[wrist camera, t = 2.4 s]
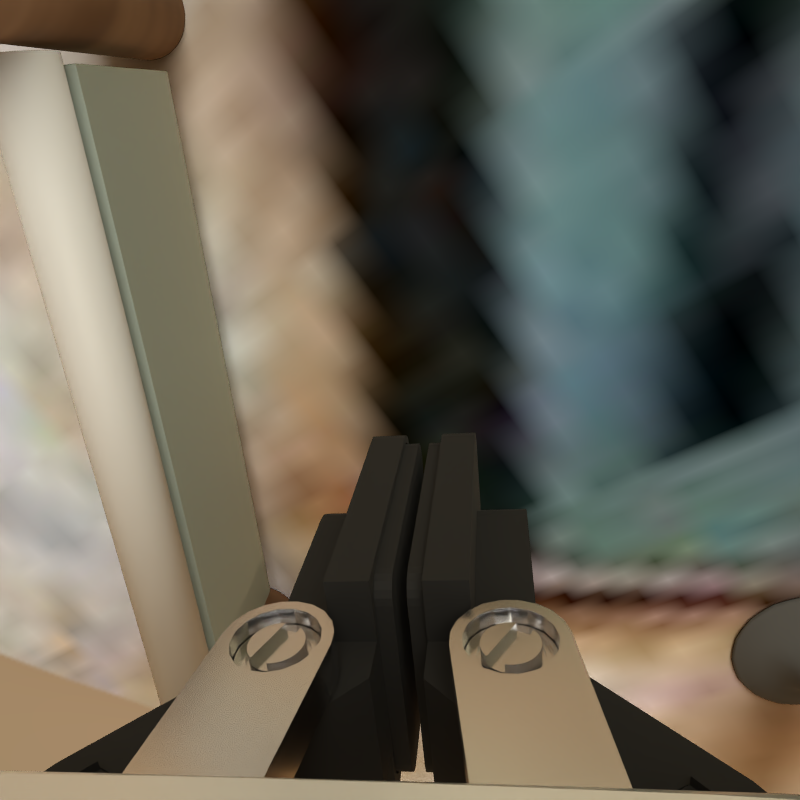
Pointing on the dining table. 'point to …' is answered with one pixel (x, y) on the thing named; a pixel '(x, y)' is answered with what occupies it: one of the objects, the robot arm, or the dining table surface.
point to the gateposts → (99, 39)
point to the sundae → (771, 653)
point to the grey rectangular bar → (136, 342)
